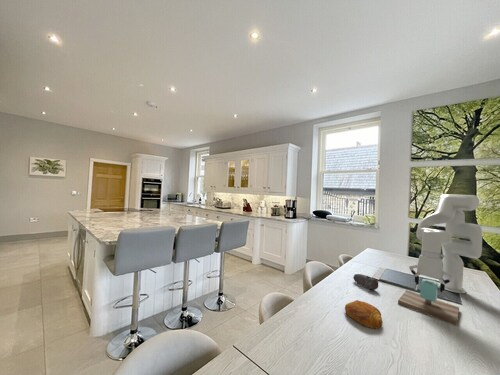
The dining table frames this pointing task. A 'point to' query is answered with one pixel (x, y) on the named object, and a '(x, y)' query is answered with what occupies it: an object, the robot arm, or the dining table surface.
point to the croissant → (364, 313)
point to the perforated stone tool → (366, 281)
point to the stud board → (430, 307)
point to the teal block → (428, 290)
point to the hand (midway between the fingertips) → (428, 287)
